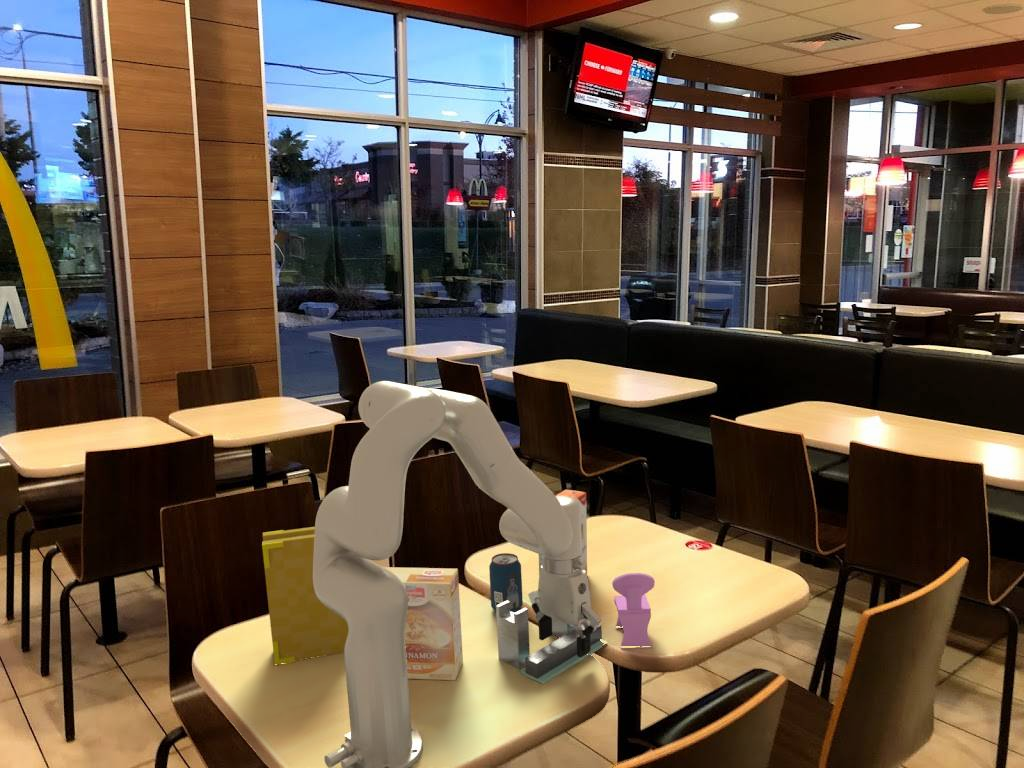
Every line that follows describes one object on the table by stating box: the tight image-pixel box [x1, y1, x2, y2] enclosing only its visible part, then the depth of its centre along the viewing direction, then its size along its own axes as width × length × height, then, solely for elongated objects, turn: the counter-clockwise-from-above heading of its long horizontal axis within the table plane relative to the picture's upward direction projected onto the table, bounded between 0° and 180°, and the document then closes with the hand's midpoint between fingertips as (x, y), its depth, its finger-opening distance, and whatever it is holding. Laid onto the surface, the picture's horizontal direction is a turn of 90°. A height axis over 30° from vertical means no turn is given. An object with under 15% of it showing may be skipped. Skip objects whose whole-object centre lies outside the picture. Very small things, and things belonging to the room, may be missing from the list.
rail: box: [524, 620, 603, 679], centre depth 154 cm, size 19×3×3 cm, turn 135°
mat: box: [520, 641, 604, 685], centre depth 155 cm, size 19×6×1 cm, turn 135°
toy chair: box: [611, 572, 656, 647], centre depth 160 cm, size 8×9×15 cm
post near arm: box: [495, 600, 531, 669], centre depth 154 cm, size 3×6×11 cm, turn 45°
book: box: [261, 526, 348, 665], centre depth 160 cm, size 17×7×25 cm, turn 105°
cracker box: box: [538, 489, 588, 575], centre depth 186 cm, size 14×6×21 cm, turn 148°
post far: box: [552, 618, 575, 638], centre depth 164 cm, size 3×6×11 cm, turn 45°
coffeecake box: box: [383, 566, 464, 681], centre depth 151 cm, size 15×7×20 cm, turn 82°
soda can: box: [489, 552, 524, 614], centre depth 175 cm, size 7×7×12 cm
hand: (564, 645), depth 154 cm, fingers open, 9 cm apart
